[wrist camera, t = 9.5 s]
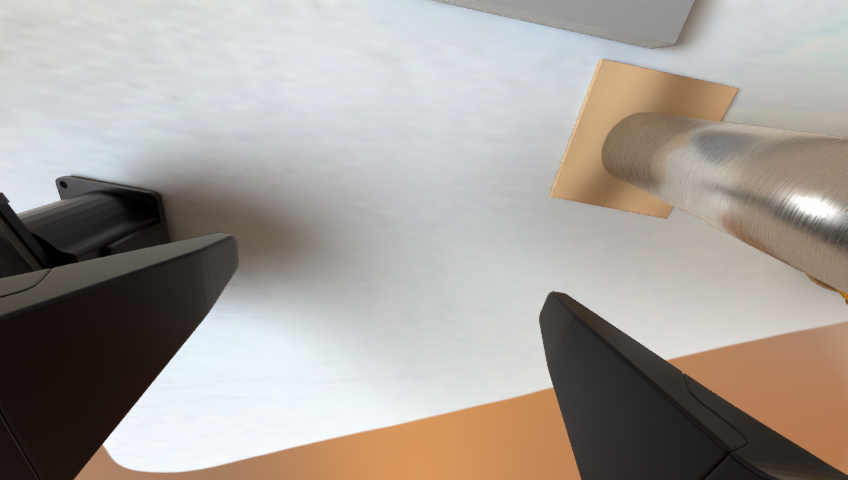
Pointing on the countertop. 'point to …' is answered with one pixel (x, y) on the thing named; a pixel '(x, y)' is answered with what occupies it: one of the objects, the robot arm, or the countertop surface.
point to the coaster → (606, 106)
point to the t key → (744, 184)
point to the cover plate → (597, 17)
